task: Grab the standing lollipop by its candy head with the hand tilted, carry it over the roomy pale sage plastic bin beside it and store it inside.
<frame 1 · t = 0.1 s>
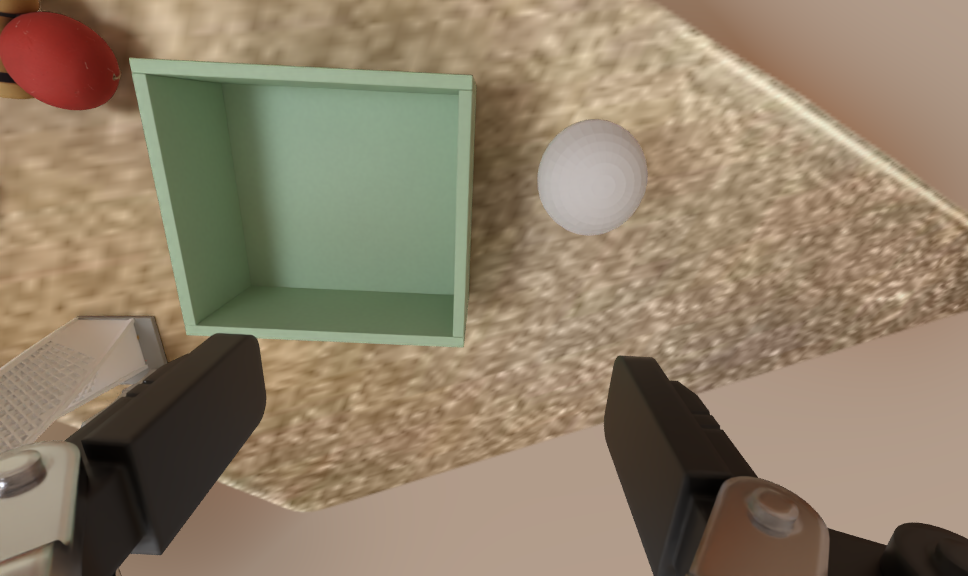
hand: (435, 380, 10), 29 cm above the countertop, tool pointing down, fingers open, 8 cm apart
kendama: (5, 21, 32), point 1 cm above the countertop
lollipop: (558, 159, 36), on the countertop
skyscraper: (119, 343, 42), on the countertop
bin: (353, 195, 37), on the countertop
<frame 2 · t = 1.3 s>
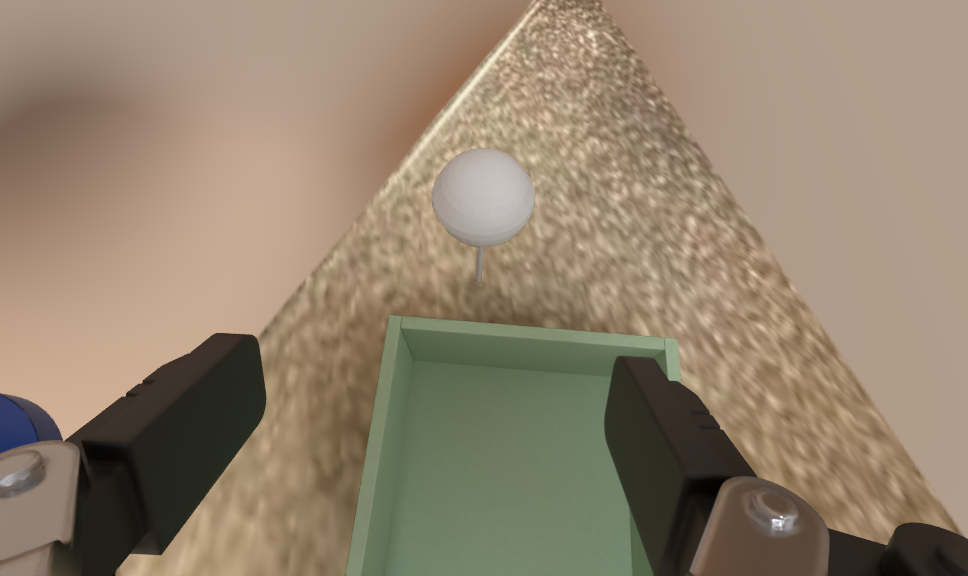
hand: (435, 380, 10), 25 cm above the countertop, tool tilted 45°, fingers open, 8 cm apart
lollipop: (478, 281, 38), on the countertop
bin: (511, 498, 32), on the countertop
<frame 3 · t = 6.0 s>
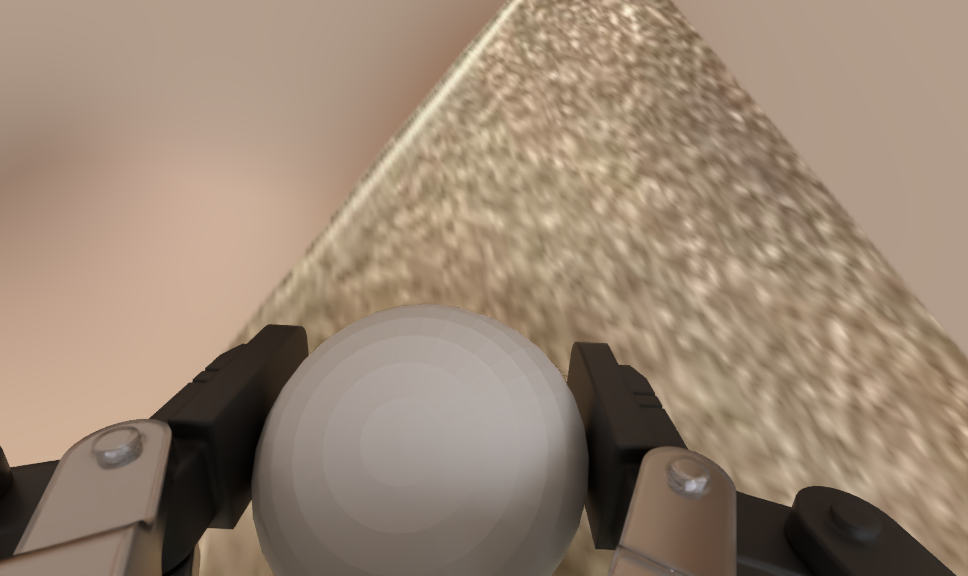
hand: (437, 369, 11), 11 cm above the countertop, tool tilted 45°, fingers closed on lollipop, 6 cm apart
lollipop: (455, 475, 20), on the countertop, touching gripper
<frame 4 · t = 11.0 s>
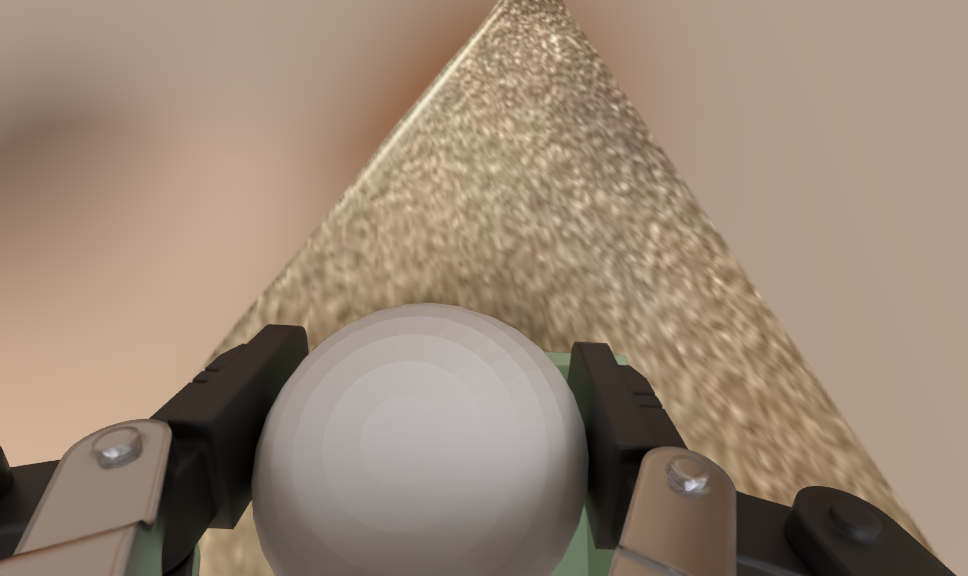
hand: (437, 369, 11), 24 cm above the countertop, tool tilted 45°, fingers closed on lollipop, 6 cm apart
lollipop: (455, 475, 20), point 13 cm above the countertop, touching gripper
bin: (466, 522, 31), on the countertop
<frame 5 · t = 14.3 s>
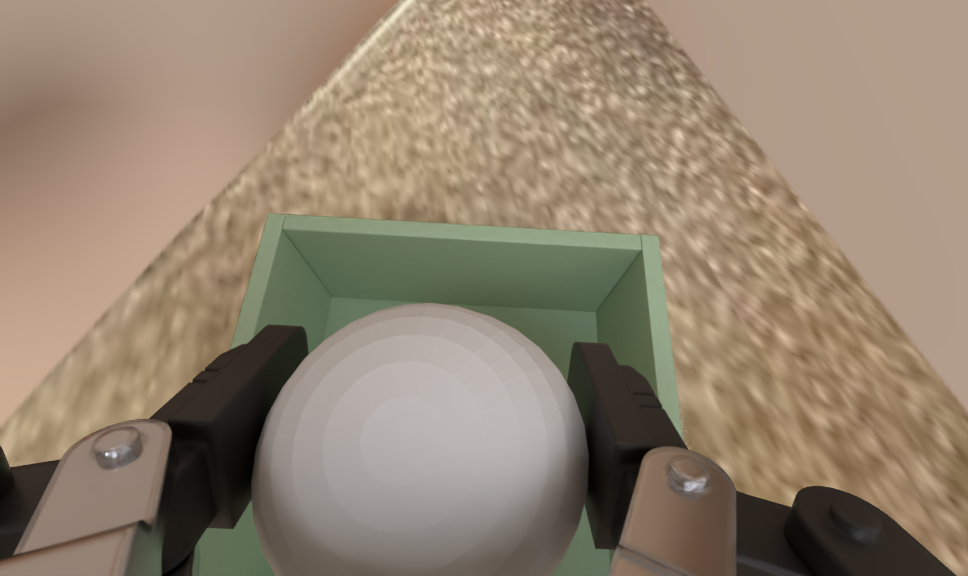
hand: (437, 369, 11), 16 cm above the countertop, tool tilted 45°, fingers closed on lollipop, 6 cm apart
lollipop: (455, 475, 20), point 5 cm above the countertop, touching gripper
bin: (453, 465, 25), on the countertop
when the fingers open (12 cm above the countertop, at t = 16.3 s): lollipop stays where it is, resting on bin.
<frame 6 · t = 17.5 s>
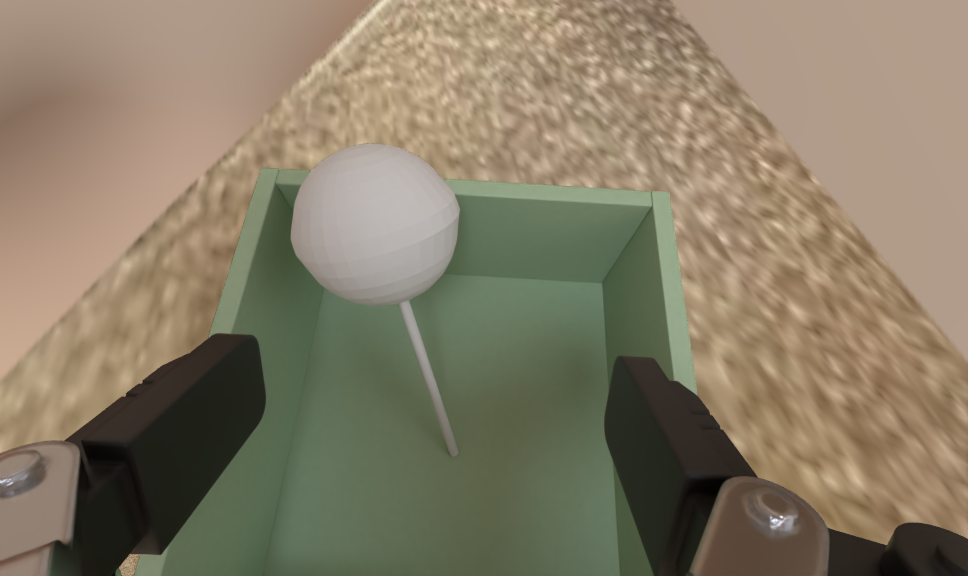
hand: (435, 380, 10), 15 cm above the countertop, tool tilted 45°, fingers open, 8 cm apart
lollipop: (455, 455, 22), point 1 cm above the countertop, touching bin
bin: (454, 438, 24), on the countertop
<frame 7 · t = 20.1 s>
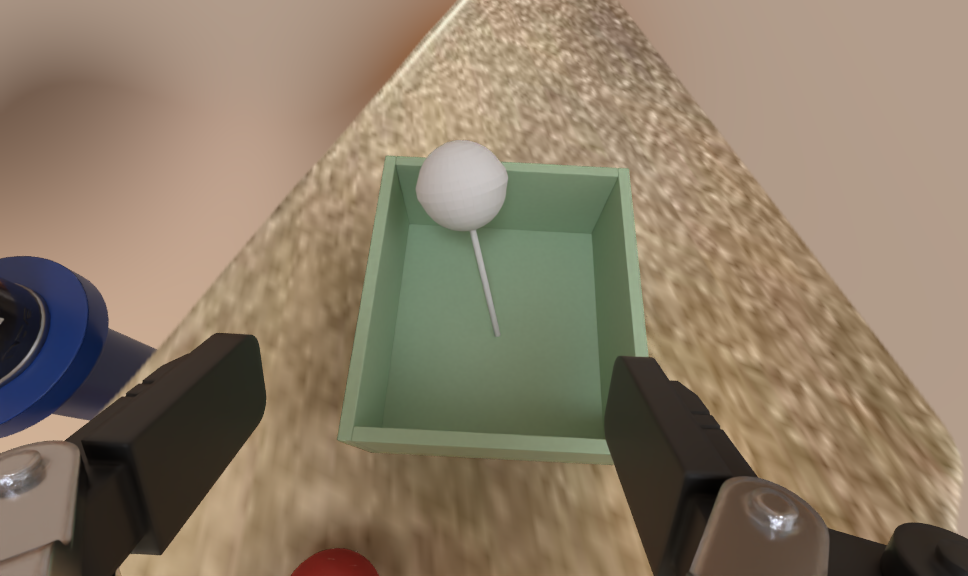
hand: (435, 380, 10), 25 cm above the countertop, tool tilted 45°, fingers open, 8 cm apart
lollipop: (498, 337, 35), point 1 cm above the countertop, touching bin
bin: (496, 330, 37), on the countertop
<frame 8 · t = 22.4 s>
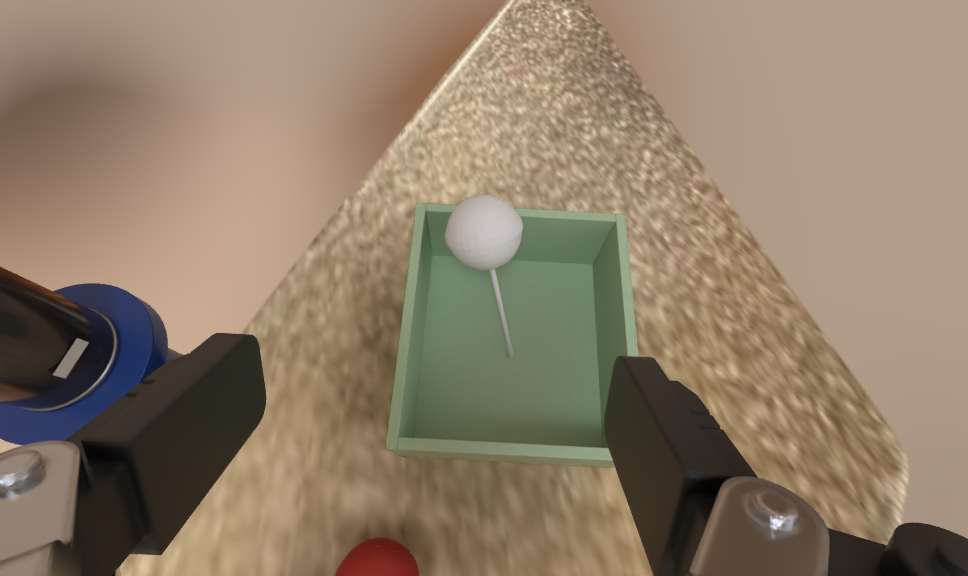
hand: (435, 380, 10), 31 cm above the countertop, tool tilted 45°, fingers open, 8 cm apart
lollipop: (511, 357, 41), point 1 cm above the countertop, touching bin
bin: (509, 350, 42), on the countertop
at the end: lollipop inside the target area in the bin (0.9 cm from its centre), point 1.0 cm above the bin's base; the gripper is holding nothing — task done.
